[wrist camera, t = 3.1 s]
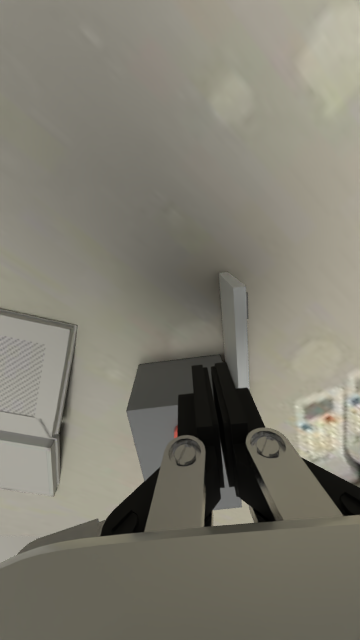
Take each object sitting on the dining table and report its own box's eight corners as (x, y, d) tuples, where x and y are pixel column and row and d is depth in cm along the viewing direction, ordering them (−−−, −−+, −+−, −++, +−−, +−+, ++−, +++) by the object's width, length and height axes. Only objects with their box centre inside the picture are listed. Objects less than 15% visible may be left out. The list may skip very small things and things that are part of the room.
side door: (216, 273, 20) (230, 288, 15) (235, 270, 20) (255, 284, 15) (229, 446, 27) (242, 496, 22) (243, 444, 27) (259, 495, 22)
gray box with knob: (138, 364, 24) (124, 416, 17) (220, 354, 24) (237, 403, 17) (161, 466, 29) (156, 537, 22) (228, 458, 28) (244, 528, 22)
